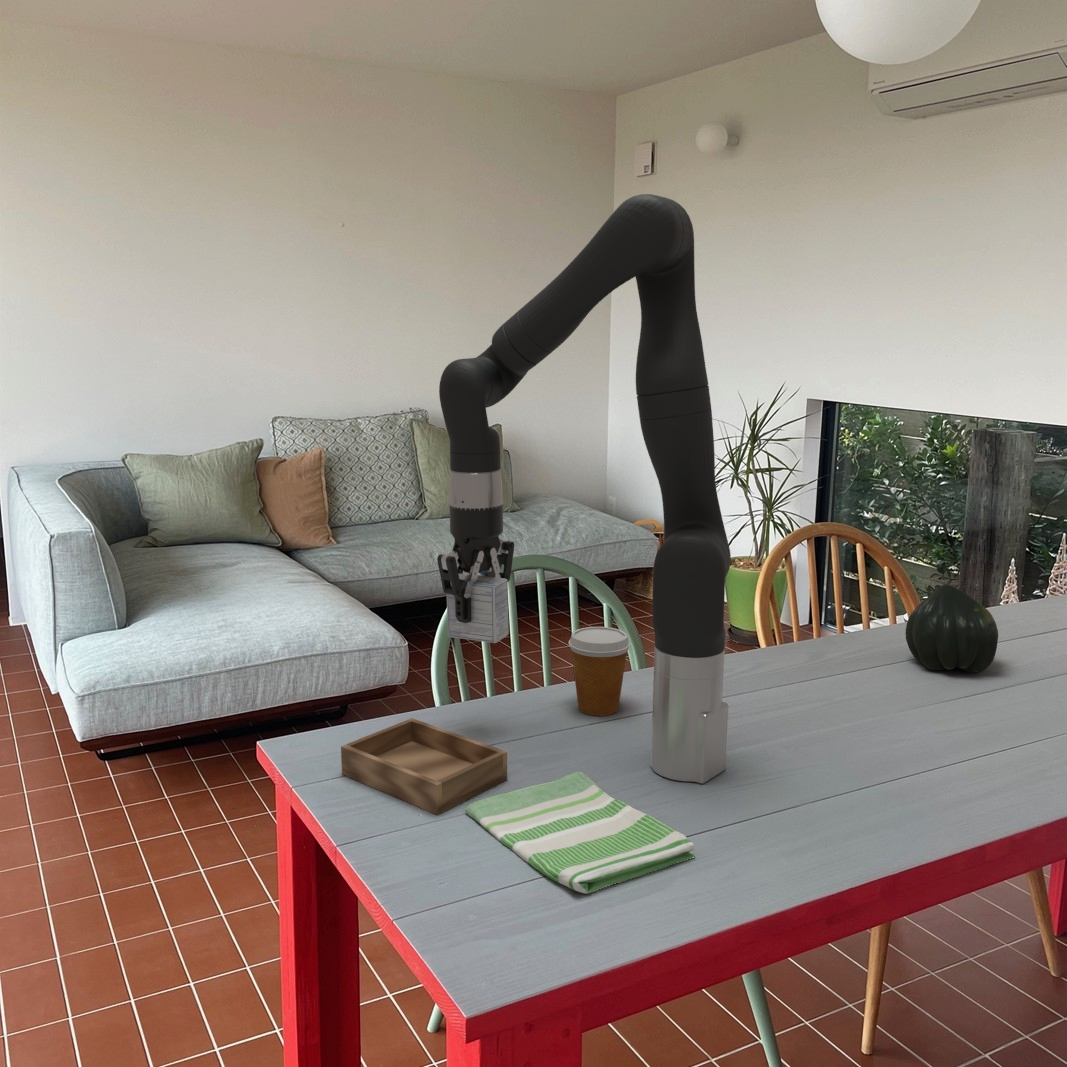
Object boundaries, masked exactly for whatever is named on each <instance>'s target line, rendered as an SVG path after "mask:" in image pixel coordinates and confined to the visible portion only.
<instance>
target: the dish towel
mask: <svg viewBox="0 0 1067 1067" xmlns="http://www.w3.org/2000/svg"><path fill="white" fill-rule="evenodd" d="M464 812H465V814H466V815H468V816H469V817H470V818H472V819H474V820H475V821H476V822H477V823H479V825H481V827H483V828H484V829H485V830H486V831H488V832H489V834H491V835H492V836H493V837H495V838H496V839H497V840H498V841H500V843H502V845H503V846H506V848H509V849H510V850H511V851H513V852H514V853H515V854H516V855H517V856H518V857H520V858H521V859H522V860H524V861H525V862H527V863H528V864H529V865H530V866H532V868H534V869H535V870H537V871H538V872H540V873H541V874H542V875H544V876H546V877H547V878H548V879H550V880H552V881H554V882H555V883H558V884H561V885H562V886H565V887H567V888H569V889H571V890H573V891H574V892H578V893H582V894H587V895H588V894H591V893H594V892H596V891H599V889H600V890H602V888H603V889H605V888H604V887H606V888H608V887H607V886H609V887H611V886H610V885H612V886H614V885H613V884H615V885H617V884H616V883H618V884H619V883H622V881H623V882H626V880H627V881H629V880H628V879H630V880H632V878H633V879H635V877H636V878H639V877H642V876H644V875H643V874H645V875H647V874H646V873H648V874H650V873H649V872H651V873H653V872H656V871H659V870H662V869H665V868H668V867H670V866H669V865H672V864H675V863H677V862H681V861H684V862H686V861H685V860H687V859H690V858H692V857H695V858H696V855H695V854H694V853H693V852H692V851H694V849H695V844H694V843H693V842H692V841H690V839H688V837H687V836H686V835H685V834H682V833H681V832H679V831H678V830H676V829H674V828H673V827H670V826H669V825H667V824H665V823H664V822H662V821H661V820H658V819H656V818H654V817H653V816H651V815H650V814H646V813H644V812H643V811H640V810H638V809H636V808H634V807H632V806H630V805H629V804H627V803H626V802H625V801H622V800H619V799H617V798H613V797H611V796H610V795H609V794H608V793H606V792H605V791H603V790H602V789H601V788H600V787H599V786H598V785H597V784H596V783H595V782H594V781H593V780H592V779H591V778H590V777H588V775H586V774H585V773H583V772H581V771H575V772H572V773H570V774H567V775H565V776H563V777H561V778H558V779H556V780H553V781H549V782H544V783H539V784H535V785H531V786H526V787H524V788H520V789H516V790H512V791H509V792H504V793H501V794H496V795H490V796H487V797H485V798H483V799H480V800H477V801H475V802H472V803H470V804H469V805H468V806H467V807H466V808H465V810H464ZM690 860H691V859H690ZM687 861H688V860H687ZM681 863H682V862H681ZM675 865H676V864H675ZM667 866H668V867H667ZM672 866H673V865H672ZM664 867H665V868H664ZM661 868H662V869H661ZM658 869H659V870H658ZM652 871H653V872H652ZM641 875H642V876H641ZM638 876H639V877H638Z"/></svg>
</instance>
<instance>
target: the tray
mask: <svg viewBox="0 0 1067 1067" xmlns="http://www.w3.org/2000/svg"><path fill="white" fill-rule="evenodd" d="M340 759H341V760H340V761H341V764H340V765H341V775H342V774H343V776H345V775H346V776H345V777H347V778H349V777H350V778H349V779H352V780H354V779H355V780H354V781H356V780H357V782H359V783H361V784H364V785H366V786H368V785H369V786H368V787H371V788H373V789H375V790H377V789H378V791H379V792H382V793H384V794H387V795H389V796H392V797H394V798H396V799H399V800H401V801H402V802H403V801H404V802H405V803H408V804H410V805H413V806H415V807H417V808H419V809H421V810H425V811H427V812H429V813H431V814H433V815H436V816H439V815H441V814H443V813H445V812H447V811H449V810H451V809H453V808H455V807H457V806H459V805H460V804H463V803H465V802H467V801H469V800H471V799H472V798H475V797H477V796H479V795H480V794H482V793H484V792H486V791H488V790H490V789H492V788H495V787H496V786H498V785H500V784H502V783H504V782H506V781H508V752H507V751H506V750H503V749H501V748H497V747H494V746H492V745H489V744H486V743H483V742H481V741H478V740H475V739H472V738H470V737H466V736H464V735H461V734H458V733H456V732H452V731H450V730H446V729H444V728H441V727H438V726H436V725H433V724H430V723H427V722H424V721H422V720H419V719H416V718H414V717H412V718H408V719H407V720H406V719H405V720H404V721H401V722H399V723H396V724H394V725H391V726H389V727H385V728H383V729H381V730H378V731H377V732H374V733H371V734H368V735H366V736H363V737H361V738H359V739H356V740H353V741H351V742H349V743H346V744H343V745H341V746H340Z"/></svg>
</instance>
